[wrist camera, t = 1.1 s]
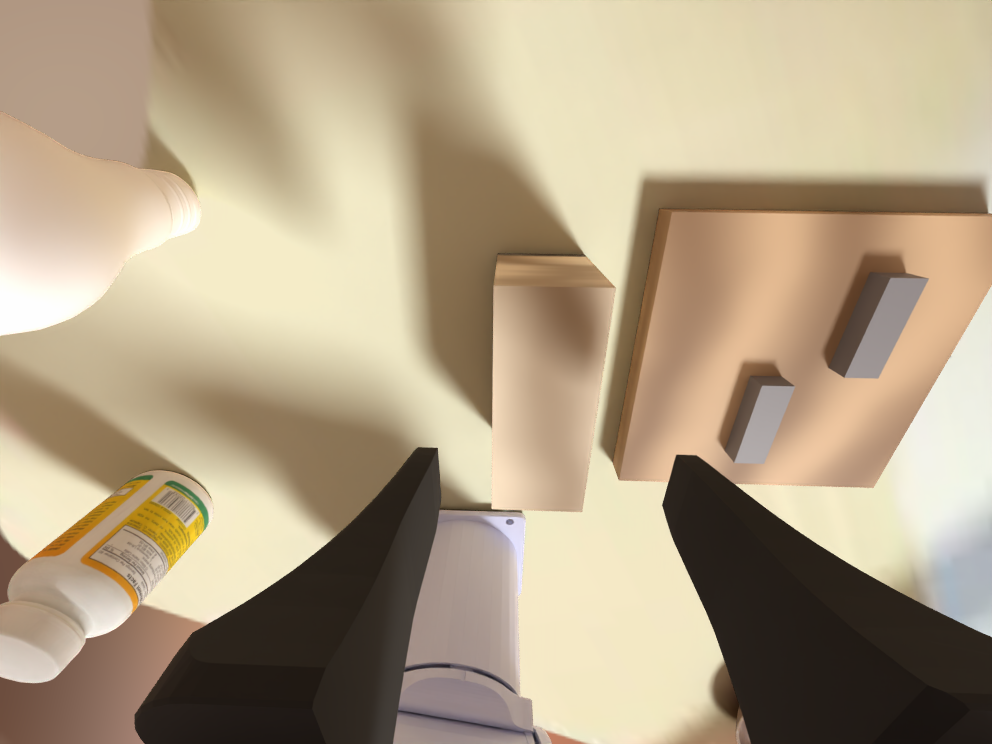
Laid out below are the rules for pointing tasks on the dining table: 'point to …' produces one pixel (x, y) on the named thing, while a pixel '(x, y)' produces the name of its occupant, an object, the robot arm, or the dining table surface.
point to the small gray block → (758, 418)
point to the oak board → (790, 337)
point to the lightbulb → (74, 224)
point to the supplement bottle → (98, 572)
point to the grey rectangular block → (876, 324)
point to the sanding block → (546, 377)
